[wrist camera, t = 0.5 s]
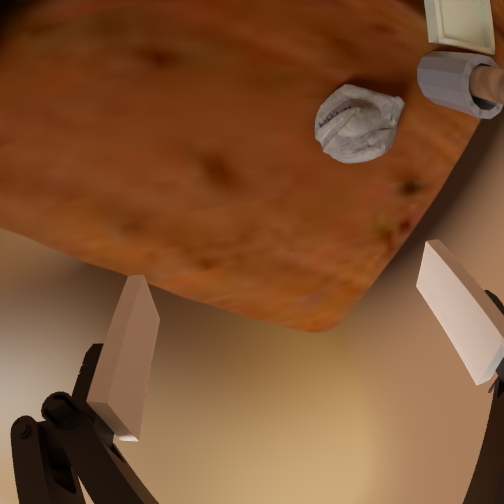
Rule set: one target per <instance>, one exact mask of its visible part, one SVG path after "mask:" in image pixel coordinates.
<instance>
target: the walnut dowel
mask: <svg viewBox="0 0 504 504" xmlns="http://www.w3.org/2000/svg"><path fill="white" fill-rule="evenodd" d="M469 92H470V95H471V96H475V97H479V98H482V99H486V100H489V101H493V102H496V103H499V104H502V105H504V69H499V68H493V67H487V66H480V65H476V66H475V67H473V69H472V71H471V74H470V76H469Z"/></svg>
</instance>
